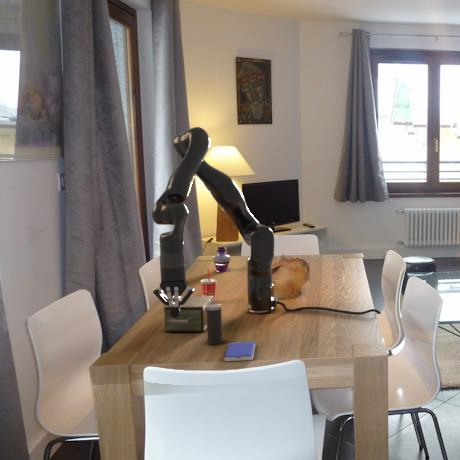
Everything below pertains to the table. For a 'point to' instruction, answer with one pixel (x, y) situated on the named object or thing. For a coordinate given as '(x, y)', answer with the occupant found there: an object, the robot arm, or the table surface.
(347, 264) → the table surface
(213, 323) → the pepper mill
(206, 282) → the beverage cup
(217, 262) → the potion bottle
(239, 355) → the hard drive
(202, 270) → the table surface
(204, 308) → the cabinet
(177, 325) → the drawer
